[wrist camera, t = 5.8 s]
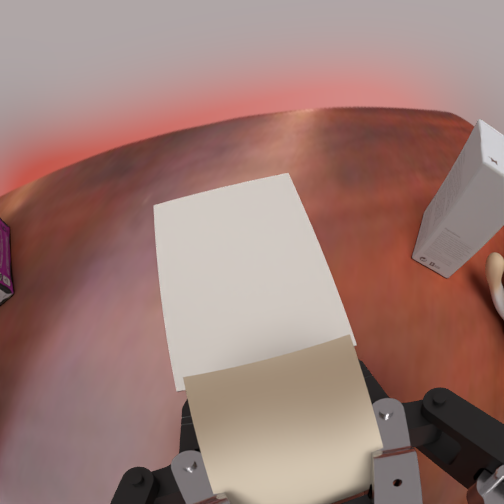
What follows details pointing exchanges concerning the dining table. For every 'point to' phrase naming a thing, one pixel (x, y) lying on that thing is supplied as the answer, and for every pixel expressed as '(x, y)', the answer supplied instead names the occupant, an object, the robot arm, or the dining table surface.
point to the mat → (242, 278)
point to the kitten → (496, 280)
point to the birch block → (287, 427)
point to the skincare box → (465, 205)
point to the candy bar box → (5, 263)
